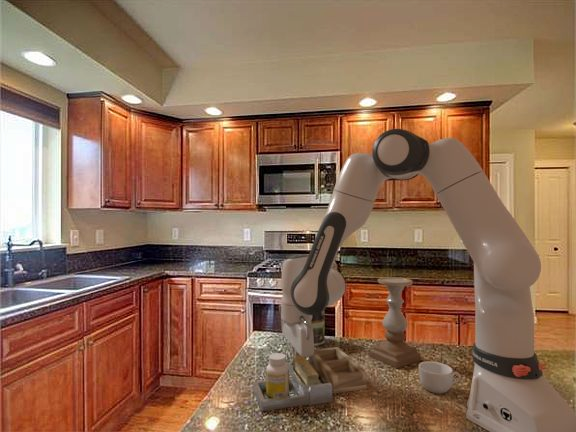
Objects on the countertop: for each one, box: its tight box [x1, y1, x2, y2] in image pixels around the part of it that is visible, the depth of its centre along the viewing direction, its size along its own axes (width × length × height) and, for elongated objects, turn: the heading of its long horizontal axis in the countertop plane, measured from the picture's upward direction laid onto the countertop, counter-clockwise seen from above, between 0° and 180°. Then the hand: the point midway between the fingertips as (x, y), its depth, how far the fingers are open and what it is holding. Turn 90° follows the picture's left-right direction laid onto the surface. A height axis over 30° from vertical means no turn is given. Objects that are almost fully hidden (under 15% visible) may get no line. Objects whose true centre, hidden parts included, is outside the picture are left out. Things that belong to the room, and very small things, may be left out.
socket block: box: [252, 363, 333, 412], centre depth 90 cm, size 20×17×4 cm
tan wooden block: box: [292, 354, 320, 389], centre depth 93 cm, size 12×3×5 cm, turn 16°
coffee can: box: [308, 309, 326, 347], centre depth 122 cm, size 10×10×14 cm
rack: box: [308, 346, 368, 395], centre depth 96 cm, size 18×9×4 cm, turn 16°
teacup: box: [418, 361, 462, 395], centre depth 88 cm, size 10×8×5 cm
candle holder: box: [369, 276, 422, 369], centre depth 108 cm, size 11×11×24 cm
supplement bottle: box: [265, 352, 290, 399], centre depth 84 cm, size 5×5×10 cm
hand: (296, 360), depth 101 cm, fingers closed
